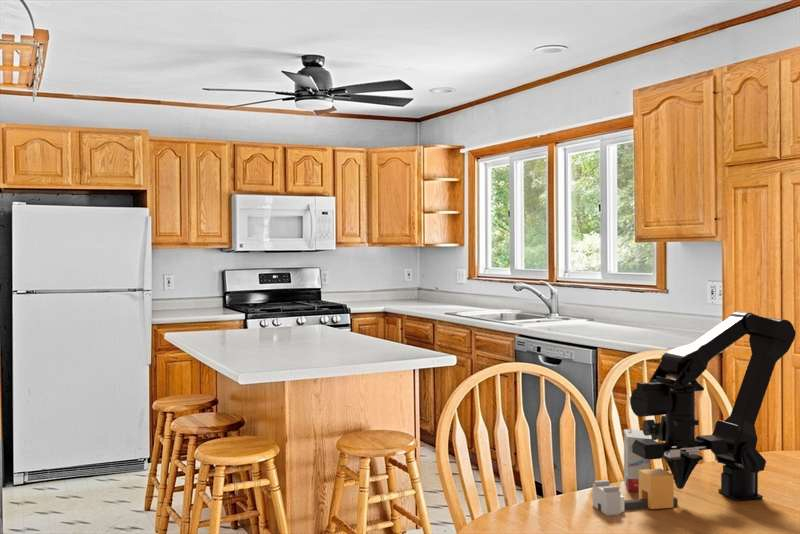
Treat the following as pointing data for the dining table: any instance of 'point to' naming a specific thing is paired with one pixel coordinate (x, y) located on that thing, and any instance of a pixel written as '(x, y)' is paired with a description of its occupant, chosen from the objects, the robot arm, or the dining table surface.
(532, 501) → the dining table surface
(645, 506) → the bar
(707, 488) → the dining table surface
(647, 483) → the notched orange cube
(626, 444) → the ink box
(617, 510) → the grey i-beam piece
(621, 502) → the cream flat block
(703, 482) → the dining table surface
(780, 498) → the dining table surface
